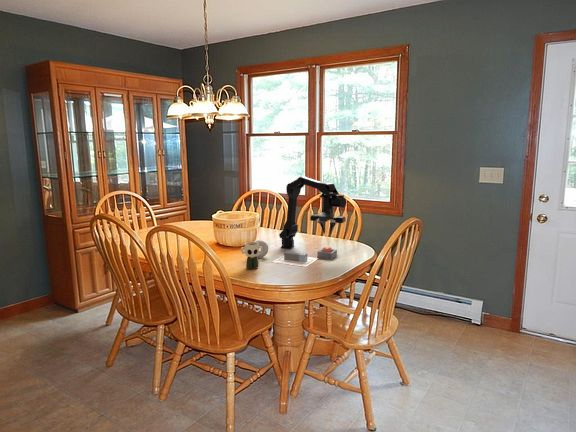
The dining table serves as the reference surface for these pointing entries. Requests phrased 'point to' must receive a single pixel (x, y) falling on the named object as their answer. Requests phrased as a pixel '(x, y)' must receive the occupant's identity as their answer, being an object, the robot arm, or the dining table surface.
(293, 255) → the gray rectangular block
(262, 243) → the donut
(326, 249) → the button
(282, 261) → the paper sheet
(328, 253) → the button housing
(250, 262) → the big-eyed character figurine
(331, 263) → the dining table surface
